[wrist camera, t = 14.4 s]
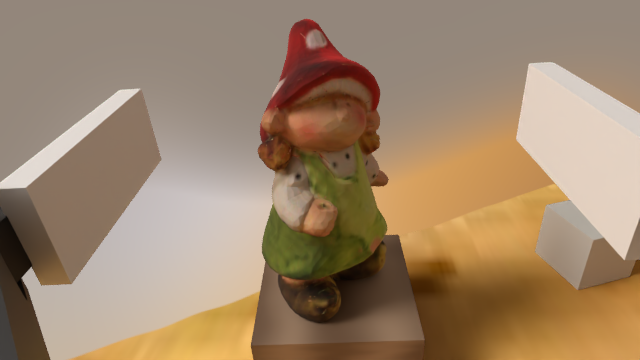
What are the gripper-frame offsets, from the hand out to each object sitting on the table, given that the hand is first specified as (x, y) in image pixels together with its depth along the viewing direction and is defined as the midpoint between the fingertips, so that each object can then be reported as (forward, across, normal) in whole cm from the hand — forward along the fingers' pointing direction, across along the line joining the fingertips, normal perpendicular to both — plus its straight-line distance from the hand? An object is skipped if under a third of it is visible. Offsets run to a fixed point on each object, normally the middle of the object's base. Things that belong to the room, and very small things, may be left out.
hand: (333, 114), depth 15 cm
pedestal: (+12, -1, -25) cm, 28 cm away
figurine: (+12, -1, -19) cm, 23 cm away
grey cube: (+20, +24, -26) cm, 41 cm away
